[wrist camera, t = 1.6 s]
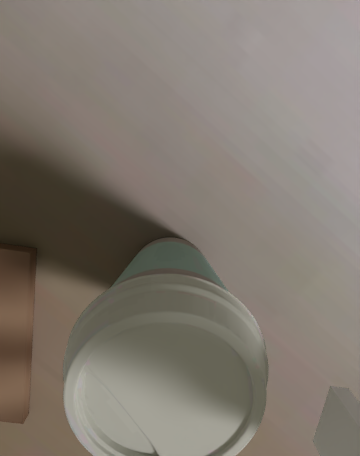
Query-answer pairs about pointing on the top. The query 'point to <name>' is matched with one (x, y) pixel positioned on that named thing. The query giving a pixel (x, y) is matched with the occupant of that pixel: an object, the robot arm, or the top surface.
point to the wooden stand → (16, 330)
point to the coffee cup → (165, 362)
